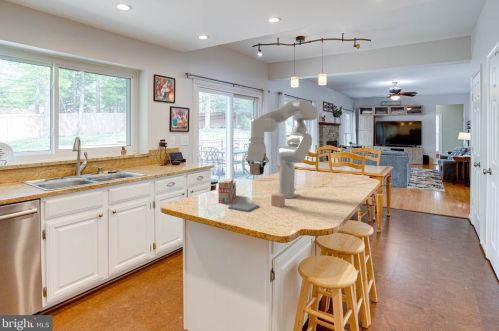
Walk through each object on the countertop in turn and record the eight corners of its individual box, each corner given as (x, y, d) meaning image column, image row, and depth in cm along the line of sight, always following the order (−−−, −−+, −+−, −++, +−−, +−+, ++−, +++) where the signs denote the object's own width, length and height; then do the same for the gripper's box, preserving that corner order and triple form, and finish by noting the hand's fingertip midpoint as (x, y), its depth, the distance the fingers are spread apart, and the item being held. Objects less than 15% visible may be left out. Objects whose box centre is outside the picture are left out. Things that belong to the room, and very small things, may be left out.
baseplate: (240, 203, 176) (240, 202, 176) (259, 206, 169) (259, 205, 169) (228, 208, 165) (228, 206, 165) (247, 211, 159) (247, 209, 159)
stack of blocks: (226, 195, 199) (226, 176, 197) (236, 195, 198) (236, 176, 196) (218, 203, 178) (218, 182, 176) (229, 203, 177) (229, 182, 175)
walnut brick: (255, 173, 179) (255, 162, 178) (263, 174, 176) (263, 163, 175) (250, 174, 174) (250, 163, 173) (258, 175, 171) (258, 164, 171)
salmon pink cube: (275, 203, 177) (276, 193, 176) (284, 205, 174) (284, 194, 174) (271, 205, 172) (271, 195, 172) (280, 207, 170) (280, 196, 169)
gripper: (240, 140, 174) (240, 172, 176) (267, 141, 165) (266, 175, 167) (247, 140, 181) (247, 171, 183) (274, 141, 172) (273, 173, 174)
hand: (256, 172), depth 175 cm, fingers closed on walnut brick, 5 cm apart
